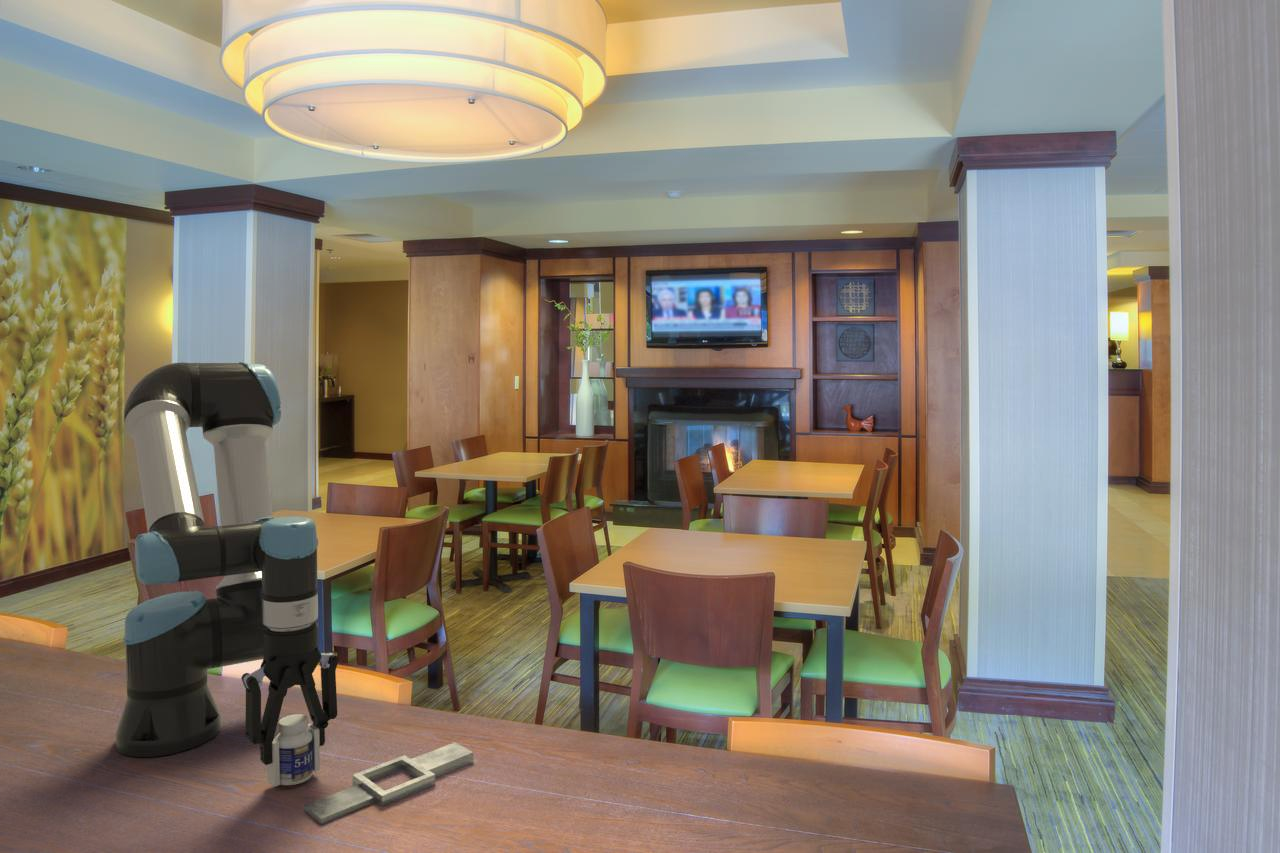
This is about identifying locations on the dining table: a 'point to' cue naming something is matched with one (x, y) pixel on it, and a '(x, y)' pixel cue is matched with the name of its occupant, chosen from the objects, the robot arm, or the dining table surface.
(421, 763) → the square frame bracket
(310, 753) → the pill bottle
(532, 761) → the dining table surface
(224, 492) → the robot arm
